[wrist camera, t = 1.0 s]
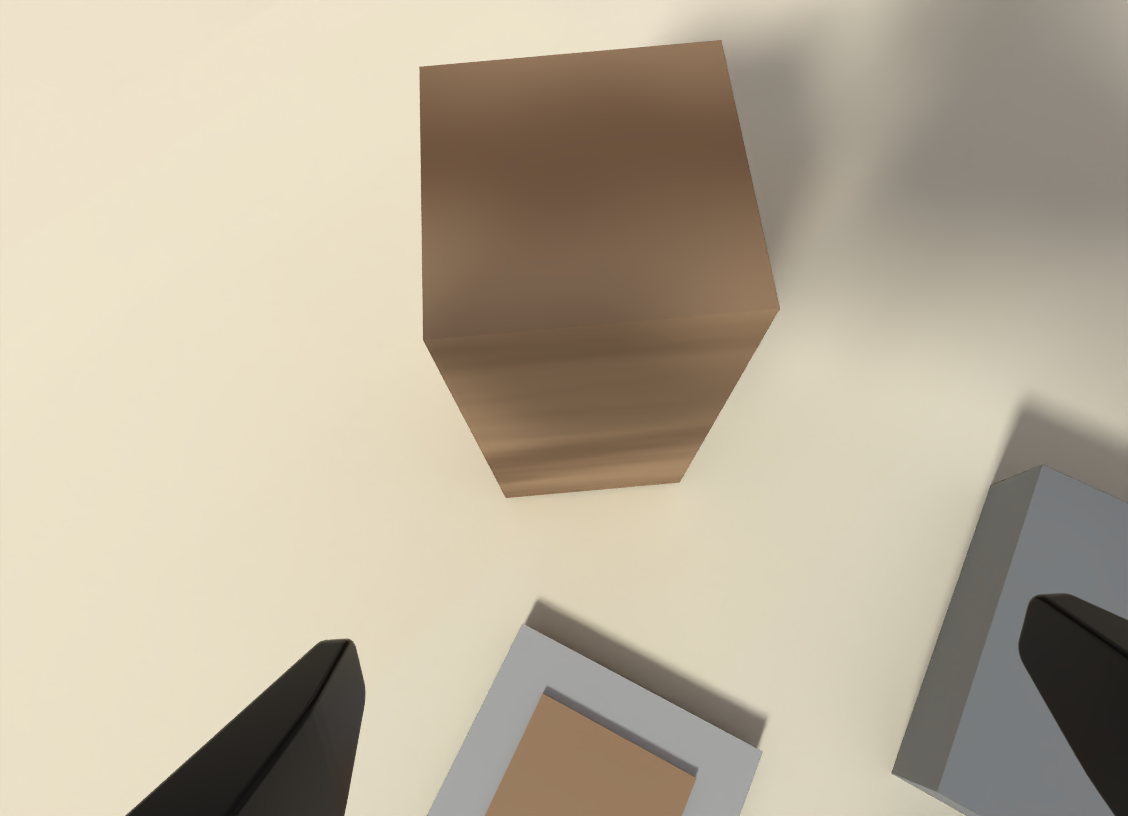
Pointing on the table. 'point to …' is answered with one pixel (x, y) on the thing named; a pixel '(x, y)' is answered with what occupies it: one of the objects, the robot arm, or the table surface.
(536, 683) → the tile
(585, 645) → the table surface
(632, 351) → the walnut pillar
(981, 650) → the slate block
